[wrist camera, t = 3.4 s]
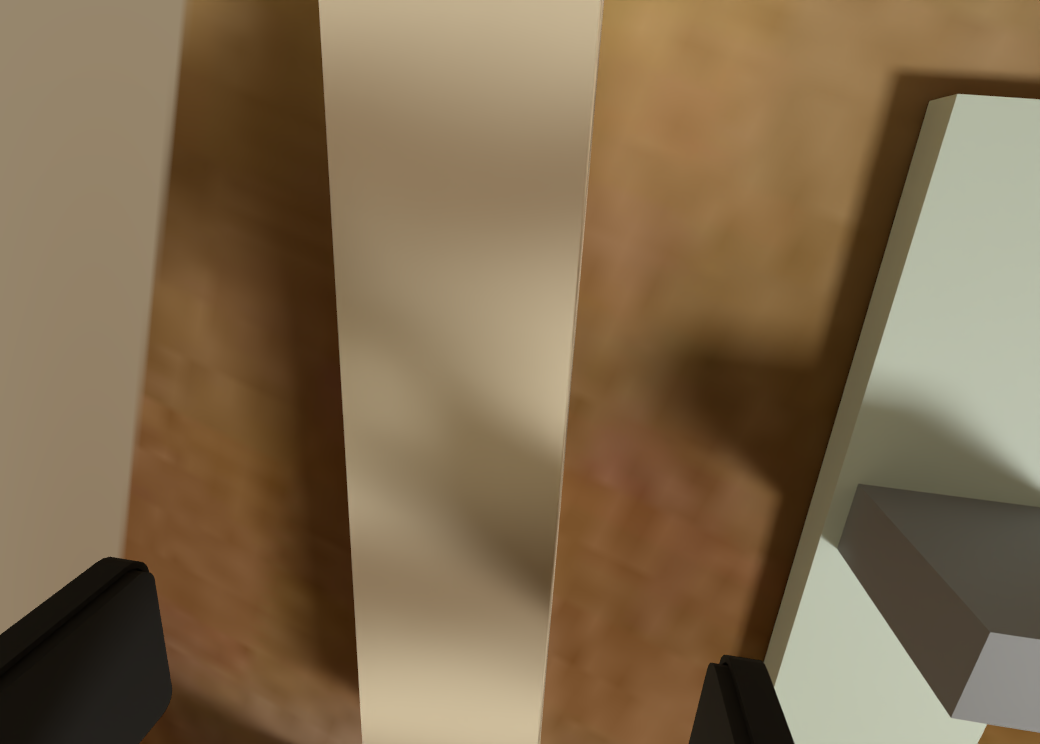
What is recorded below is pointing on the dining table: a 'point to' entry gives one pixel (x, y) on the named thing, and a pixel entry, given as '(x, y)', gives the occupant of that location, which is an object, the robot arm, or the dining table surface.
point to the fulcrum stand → (932, 464)
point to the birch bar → (456, 343)
